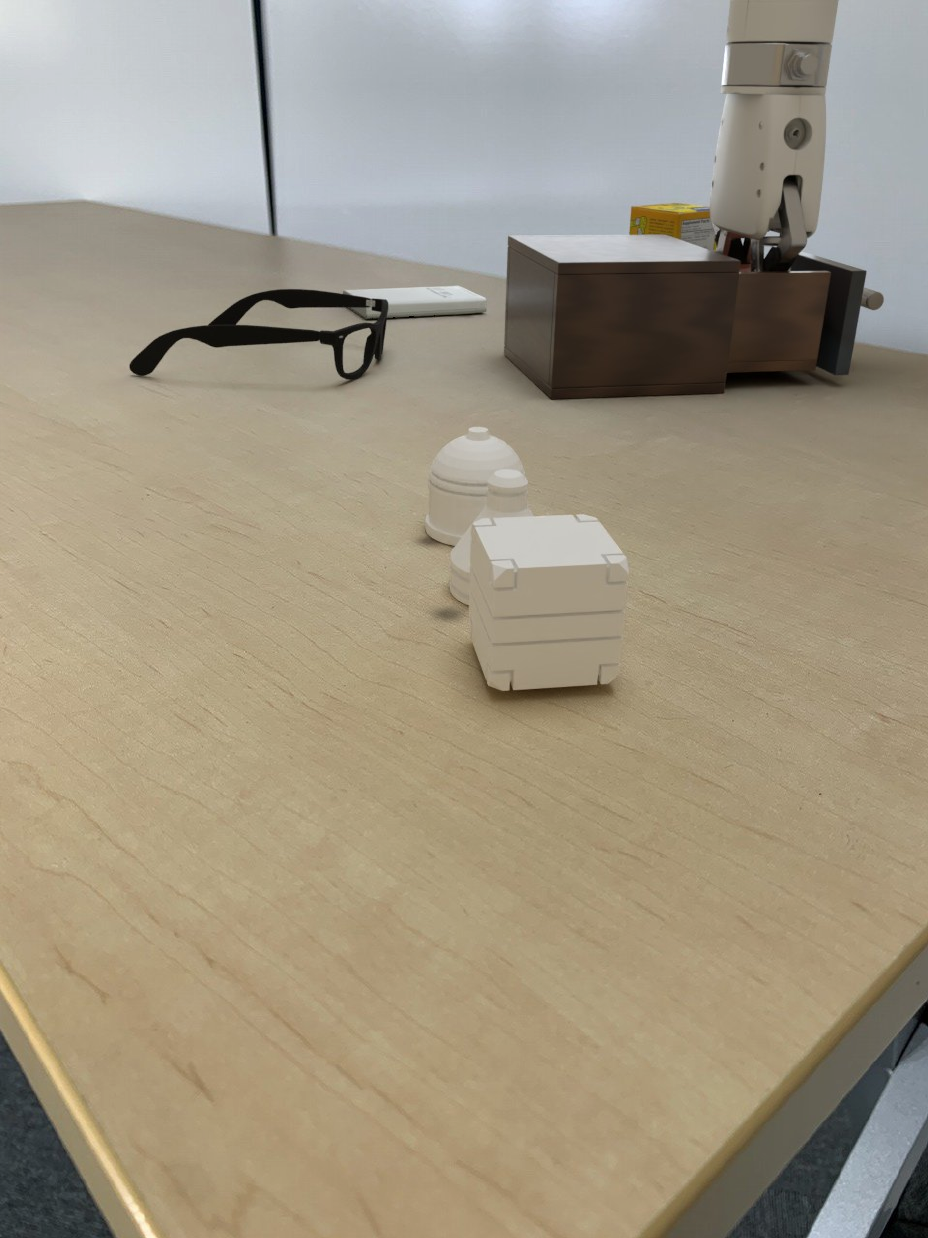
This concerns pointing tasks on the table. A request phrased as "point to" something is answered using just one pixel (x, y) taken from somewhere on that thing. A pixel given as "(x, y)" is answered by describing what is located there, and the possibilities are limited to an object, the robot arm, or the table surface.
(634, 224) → the supplement box
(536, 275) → the cabinet
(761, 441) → the table surface
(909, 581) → the table surface
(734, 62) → the robot arm
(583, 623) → the container set
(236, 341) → the glasses
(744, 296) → the drawer
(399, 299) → the hard drive
